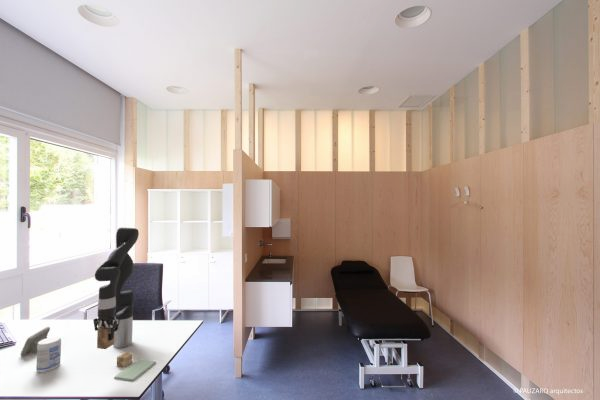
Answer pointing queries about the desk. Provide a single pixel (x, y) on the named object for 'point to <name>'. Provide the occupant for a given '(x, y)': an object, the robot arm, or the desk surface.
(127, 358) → the short oak block
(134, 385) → the desk surface
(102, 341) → the tall walnut block
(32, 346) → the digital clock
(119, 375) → the pad
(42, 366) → the supplement tub
